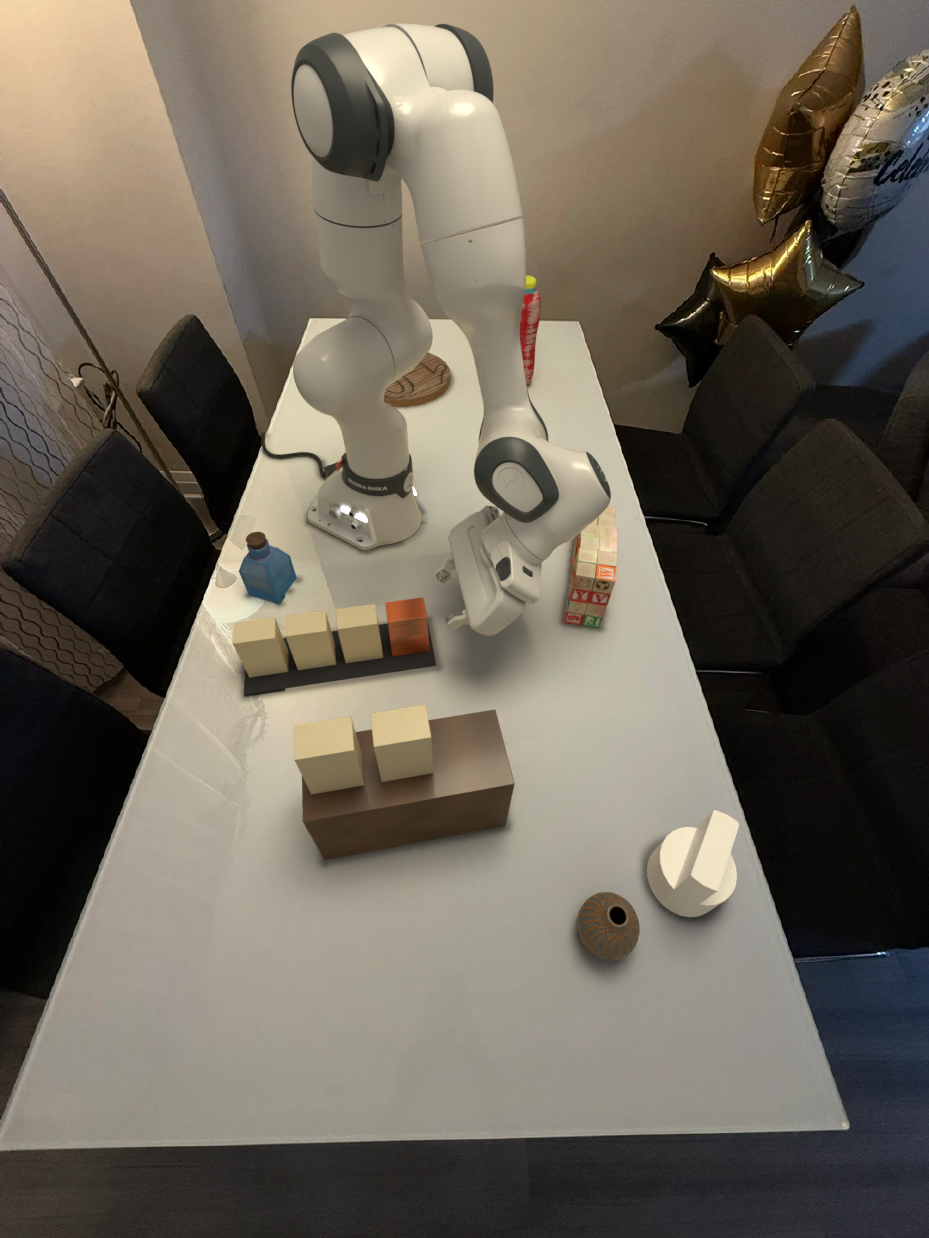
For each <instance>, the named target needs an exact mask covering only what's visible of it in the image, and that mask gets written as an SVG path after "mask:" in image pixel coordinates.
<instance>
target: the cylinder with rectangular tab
mask: <svg viewBox="0 0 929 1238" xmlns="http://www.w3.org/2000/svg"><path fill="white" fill-rule="evenodd" d="M740 824H741V823H740V822H739V821H738V820H736V819H734V818H733V817H731V816H730V815H728V814H726V813H724V812H721V811H719V810H716V809H715V810H713V811H712V812H710V814H708V815H707V817H705V819H703V821H702V822H701V823H700V824H699V825H698V826H697V827H693V826H684V827H678V828H677V829H674V830H672V831H671V832H670V833H669V834H667V836H665V837H664V839H663V840H662V841H661V842H660V843H659V845H658V846H657V847H656V848H655V849H654V851H653V852H652V853H651V855H650V856H649V857H648V861H647V866H646V878H647V882H648V885H649V888H650V890H651V892H652V893H653V896H654V897H655V898H656V899H657V901H658V902H659V903H660V904H661V906H662V907H665V909H667V910H668V911H670V912H671V913H674V914H675V915H678V916H680V917H687V918H698V917H701V916H703V915H705V914H707V913H709V912H710V911H712V910H714V909H715V908H716V907H718V906H719V905H721V904H723V903H724V902H726V901H727V900H728V899H729V898H730V897H731V896H732V894H733V893H734V891H735V889H736V886H737V879H738V873H737V871H738V870H737V865H736V863H735V861H734V857H733V855H732V854H731V853H732V849H733V845H734V843H735V840H736V837H737V834H738V831H739V828H740Z"/></svg>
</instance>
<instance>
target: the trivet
mask: <svg viewBox="0 0 929 1238" xmlns="http://www.w3.org/2000/svg"><path fill="white" fill-rule="evenodd" d="M450 384H451V369H450V367H449V365H448V363H447V362H446V361H444V360H443V359H442V358H441V357H439V356H437V355H435V354H433V353H431V352H428V353H427V354H426V355H425V357H424V358H423V359H422V360H421V361H420V363H419V364H418V365H417V366H416V367H415V368H414V369H413V370H412V371H410V372H409V373H407V374H406V375H404V376H403V377H401V378H400V379H398V380H397V381H395V382H394V383H392V384H391V385H389V386H388V387H387V388H386V390H385V393H384V403H387V404H390V405H392V406H394V407H395V408H397V407H398V408H402V407H404V408H405V407H414V406H419V405H423V404H427V403H429V402H432V401H435V400H436V399H437V398H440V397H441V396H443V395H444V394H445V393H446V391H447V390H448V389H449V387H450Z"/></svg>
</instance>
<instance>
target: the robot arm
mask: <svg viewBox="0 0 929 1238" xmlns="http://www.w3.org/2000/svg"><path fill="white" fill-rule="evenodd" d="M493 78H494V77H493V71H492V66H491V63H490V60H489V58H488V54H487V51H486V50H485V48H484V46H483V45H482V43H481V42H480V41H479V39H478V38H477V37H476V36H475V35H474V34H473V33H471V32H469V31H467V30H465V29H463V28H461V27H458V26H455V25H452V24H448V23H438V24H436V25H434V26H433V25H428V24H427V25H425V24H418V23H387V24H385V25H383V26H382V27H381V26H380V27H373V28H366V29H361V30H357V31H353V32H347V33H345V34H341V33H339V32H330V33H327V34H324V35H321V36H319V37H317V38H314V39H313V40H311V41H309V42H308V43H306V44H305V45H303V46H302V47H301V48H300V49H299V50H298V52H297V54H296V57H295V59H294V63H293V69H292V75H291V83H290V92H291V93H290V94H291V104H292V110H293V116H294V120H295V124H296V126H297V130H298V133H299V135H300V138H301V140H302V142H303V145H304V146H305V148H306V149H307V150H308V152H309V154H310V155H311V185H312V186H311V187H312V200H313V210H314V218H315V219H314V220H315V229H316V237H317V248H318V256H319V257H318V258H319V267H320V270H321V273H322V275H323V276H324V278H325V280H326V282H328V284H329V285H330V286H331V287H332V288H334V289H335V290H336V291H337V292H338V293H340V294H341V295H344V296H346V297H348V301H349V313H348V317H346V318H345V319H344V320H342V321H341V322H339V323H337V324H335V325H333V326H331V327H329V328H327V329H325V330H323V331H322V332H320V333H317V334H316V335H315V336H314V337H313V338H312V339H311V340H309V342H307V343H306V344H305V345H304V346H303V348H301V349H300V350H299V352H297V354H296V355H295V356H294V359H293V363H292V364H293V365H292V373H293V374H292V375H293V378H294V383H295V387H296V389H297V391H298V392H299V394H300V396H301V398H302V399H303V400H304V401H305V402H306V404H308V405H309V407H311V408H312V409H314V410H316V411H317V412H319V413H321V414H323V415H326V416H330V417H332V418H333V419H334V420H335V421H336V423H337V425H338V426H339V429H340V432H341V436H342V440H343V444H344V450H345V452H344V453H343V454H342V455H341V456H340V458H341V459H340V460H339V461H337V462H333V463H332V464H328V465H326V466H323V462H322V459H320V457H319V456H318V455H317V454H315V453H313V452H309V451H297V452H290V453H283V454H277V453H273V452H270V451H269V450H268V449H267V445H266V432H264V431H262V432H261V433H260V444H261V445H260V446H261V448H262V451H263V453H264V454H265V455H266V456H267V457H270V458H274V459H289V458H295V457H311V458H312V459H314V460H316V462H317V465H318V470H319V474H320V477H322V478H324V479H325V480H324V481H323V483H322V484H321V486H320V487H319V490H318V492H317V496H316V498H315V499H314V500H313V502H312V503H311V504H310V506H309V509H308V513H307V520H308V523H310V524H311V525H313V526H315V527H317V528H318V529H321V530H323V531H324V532H326V533H329V534H330V535H333V536H334V537H336V538H338V539H340V540H341V541H344V542H346V543H348V544H349V545H351V546H353V547H355V548H357V549H358V550H362V551H370V550H372V549H375V548H377V547H379V546H383V545H385V546H386V545H392V544H397V543H400V542H402V541H405V540H407V539H409V538H410V537H411V536H413V535H414V534H415V533H416V532H417V531H418V530H419V528H420V526H421V524H422V520H423V516H422V512H421V510H420V508H419V505H418V502H417V500H416V496H417V491H416V489H415V487H414V470H413V469H414V468H413V460H412V459H413V458H412V455H411V453H410V449H409V448H410V447H409V433H408V422H407V419H406V417H405V416H404V415H403V413H402V412H401V411H400V410H399V409H398V408H397V407H394V406H392V405H390V404H387V403H384V393H385V390H386V388H387V387H388V386H389V385H391V384H392V383H394V382H395V381H397V380H398V379H400V378H401V377H403V376H404V375H406V374H407V373H409V372H410V371H412V370H413V369H414V368H415V367H416V366H417V365H418V364H419V363H420V361H421V360H422V359H423V358H424V357H425V355H426V354H427V353H430V351H431V350H430V349H431V348H432V345H433V340H434V339H433V337H434V336H433V329H432V328H433V327H432V325H431V321H430V318H429V317H428V315H427V313H426V311H425V310H424V309H423V308H422V306H420V304H418V302H417V301H415V300H413V299H412V297H411V296H410V293H409V290H408V287H407V282H406V278H405V273H404V248H403V247H404V246H403V245H404V244H403V242H404V241H403V190H402V189H403V188H402V187H403V186H402V181H403V182H404V184H405V185H406V187H407V189H408V191H409V193H410V197H411V200H412V204H413V209H414V216H415V221H416V227H417V233H418V237H419V242H420V243H421V244H420V247H421V251H422V256H423V260H424V261H423V262H424V264H425V268H426V271H427V274H428V278H429V281H430V284H431V286H432V289H433V292H434V294H435V297H436V300H437V302H438V304H439V307H440V309H441V311H442V313H444V315H445V316H446V317H448V318H449V319H450V320H451V321H452V322H453V323H454V324H456V326H457V327H458V329H460V330H461V332H462V333H463V334H464V337H465V338H466V340H467V343H468V344H469V347H470V349H471V352H472V356H473V360H474V365H475V370H476V375H477V380H478V386H479V390H480V395H481V399H482V404H483V416H482V421H481V424H480V429H479V434H478V444H477V445H478V446H477V450H476V454H475V459H474V465H473V478H474V482H475V485H476V488H477V489H478V491H479V492H480V493H481V495H482V496H483V497H484V498H485V499H486V500H487V501H489V502H490V503H491V504H492V505H486V506H484V507H482V508H481V510H479V511H476V512H474V513H471V514H470V515H468V516H467V517H466V518H464V519H463V520H461V521H460V522H458V523H457V524H456V525H454V526H453V527H452V528H451V530H450V531H449V533H448V535H447V541H448V544H449V548H450V552H449V553H448V554H447V555H446V557H445V558H444V561H443V563H442V565H441V566H440V567H439V568H438V569H437V570H436V571H435V577H436V581H437V582H439V583H441V584H446V583H447V582H448V581H449V580H451V579H452V573H453V571H454V570H455V571H456V575H457V579H458V583H459V586H460V590H461V595H462V599H463V602H464V605H465V609H463V610H462V611H461V615H457V614H456V613H454V612H452V613H450V614H449V615H448V616H447V617H446V618H445V622H446V627H447V628H448V629H450V630H452V631H455V630H458V629H459V628H460V627H461V626H466V625H469V626H470V629H472V630H473V631H474V632H476V633H478V634H480V635H482V636H485V637H492V636H495V635H497V634H498V633H500V632H501V631H503V630H504V629H505V628H506V627H508V626H509V625H510V624H512V623H513V622H514V621H515V620H516V619H518V618H519V617H520V616H521V614H522V613H523V611H524V610H525V607H526V604H529V605H534V604H536V603H537V602H538V601H540V599H541V596H542V586H541V585H542V584H541V583H542V582H541V581H542V580H541V579H542V568H543V567H542V563H543V562H544V561H546V560H547V559H548V558H549V557H550V556H551V555H552V553H553V552H554V551H555V550H556V549H557V548H558V547H559V546H561V545H564V544H565V543H568V542H570V541H572V540H573V539H575V537H576V536H577V535H578V534H579V533H581V532H582V531H583V530H584V529H585V528H587V527H588V526H589V525H590V524H591V523H592V522H593V521H594V520H596V519H597V518H598V517H599V516H600V515H601V514H602V513H603V511H604V510H605V509H606V508H607V506H610V504H611V498H612V492H611V488H610V484H609V481H608V480H607V477H606V475H605V473H604V471H603V469H602V467H601V465H600V464H599V462H598V461H597V459H596V458H595V457H594V456H593V454H591V453H590V452H588V451H580V450H579V451H578V450H573V449H569V448H566V447H563V446H559V445H557V444H555V443H553V442H550V441H549V433H548V429H547V426H546V422H544V420H543V418H542V416H541V415H540V413H539V412H538V410H537V409H536V407H535V406H534V404H533V402H532V400H531V398H530V393H529V388H528V386H527V383H526V376H525V370H524V363H523V357H522V350H521V344H520V317H521V310H522V305H523V301H524V296H525V285H526V275H527V247H526V244H527V243H526V233H525V224H524V223H525V222H524V218H523V216H524V215H523V209H522V202H521V196H520V190H519V186H518V179H517V175H516V169H515V166H514V161H513V157H512V153H511V150H510V146H509V141H508V138H507V135H506V132H505V128H504V125H503V122H502V118H501V116H500V113H499V111H498V109H497V107H496V105H495V104H494V79H493ZM519 217H521V218H519ZM515 218H516V219H515ZM512 219H513V220H512ZM508 220H509V221H508ZM500 222H501V223H500ZM425 241H426V242H425ZM422 242H423V243H422ZM499 510H500V511H502V513H500V511H499Z"/></svg>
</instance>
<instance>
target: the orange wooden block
mask: <svg viewBox="0 0 929 1238" xmlns="http://www.w3.org/2000/svg"><path fill="white" fill-rule="evenodd" d="M384 606H385V614H386V620H387V624H388V628H389V635H390V643H391V650H392V656H400V655H407V654H413V653H420V652H427V651H429V640H428V625H429V620H428V615H427V614H428V612H427V608H426V603H425V598H424V597H423V596H422V597H415V598H407V599H401V600H393V601H385V602H384Z"/></svg>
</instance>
